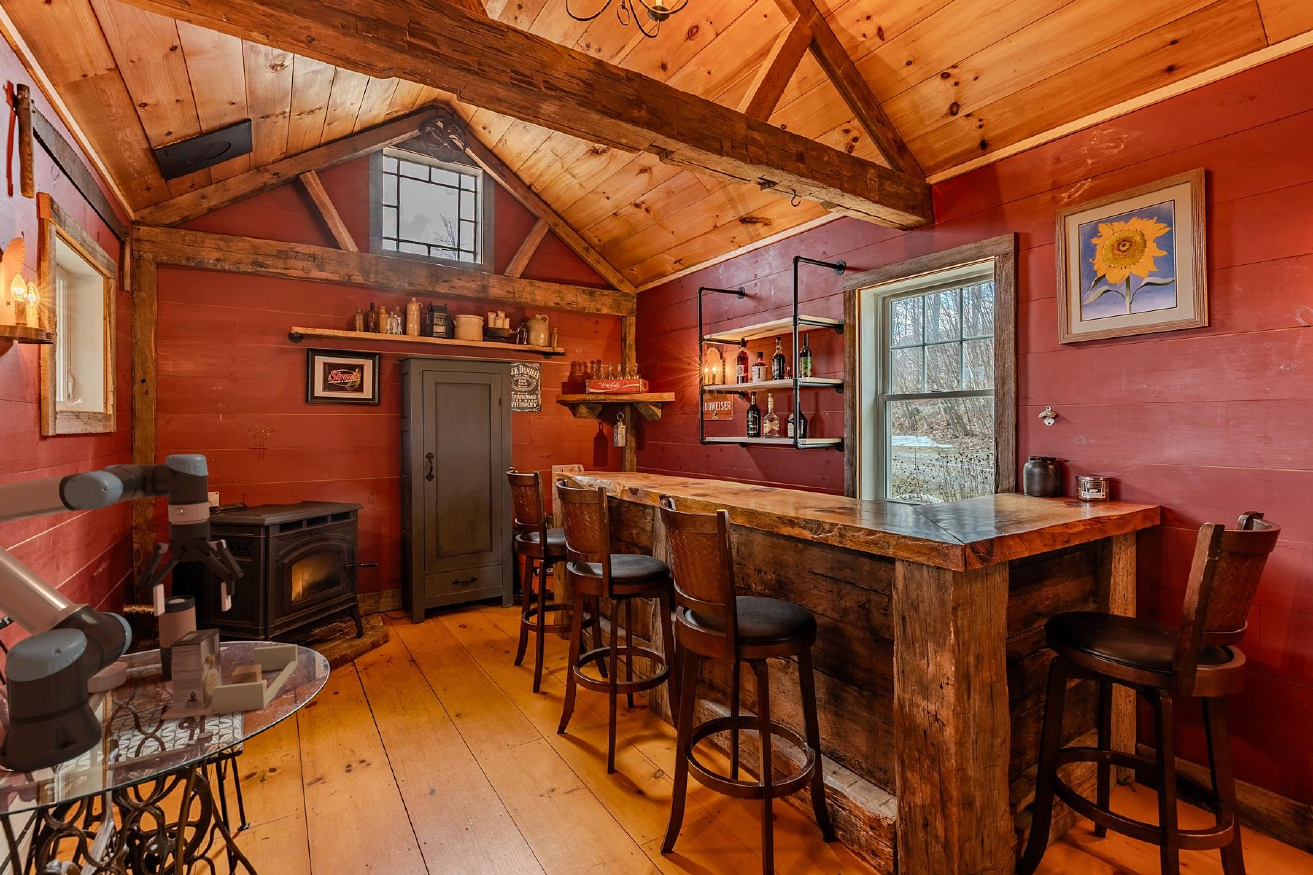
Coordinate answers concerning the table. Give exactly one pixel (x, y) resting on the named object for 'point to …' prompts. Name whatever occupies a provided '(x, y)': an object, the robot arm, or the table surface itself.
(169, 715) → the plate
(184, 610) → the travel mug
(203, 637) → the coffee box
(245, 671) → the offcut top
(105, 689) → the round wooden block
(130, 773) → the table surface
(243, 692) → the rack
